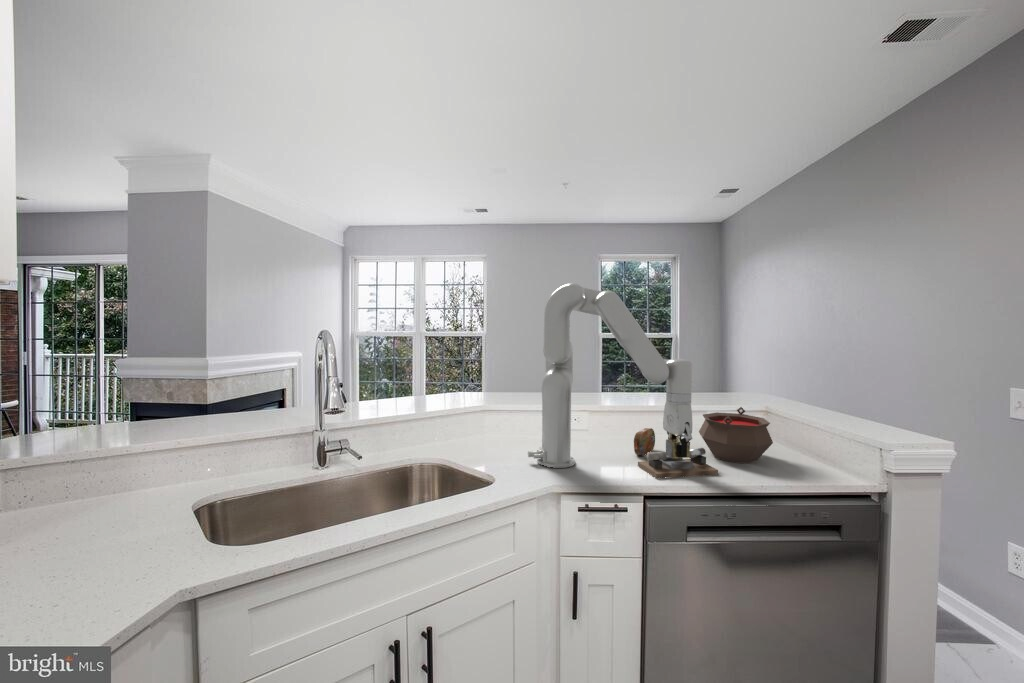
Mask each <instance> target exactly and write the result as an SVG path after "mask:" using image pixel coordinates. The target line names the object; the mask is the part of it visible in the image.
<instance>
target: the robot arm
mask: <svg viewBox="0 0 1024 683" xmlns="http://www.w3.org/2000/svg"><path fill="white" fill-rule="evenodd" d="M572 311H575V312H579V313H585V314H589V315H592V316H593V315H594V316H599V317H600V318H601V320H602V321H603V323H604V324H605V325H606V327H607V328H608V330H609V331H610V332H611V334H612V335H613V336H614V338H615V340H616V341H617V343H619V345H620V346H621V347H622V349H624V350H625V351H626V352H627V354H628V355H629V356H630V358H632V360H633V362H634V363H635V364H636V366H637V367H638V368H639V370H640V371H641V374H642V376H643V377H644V378H645V379H646V380H647V381H648V382H649V383H650V384H655V385H659V384H660V385H661V384H663V383H664V382H666V384H665V385H666V389H665V390H666V391H665V392H666V393H665V395H666V396H665V402H664V409H663V420H662V429H663V430H664V431H665V432H666V434H667V436H668V437H667V439H678V445H677V457H678V458H682V457H687V445H688V442H691V441H692V440H693V436H692V433H693V411H692V410H693V408H692V394H693V393H692V392H693V391H692V387H693V385H692V383H693V380H692V379H693V363H692V361H691V360H689V359H687V358H686V359H685V358H673V359H672V358H670V359H669V358H668V359H665V358H664V357H662V355H661V353H660V352H659V351H658V349H656V347H655V345H654V344H653V343H652V342H651V340H650V339H649V337H648V336H647V334H646V333H645V331H644V329H643V327H642V326H640V324H639V323H638V321H637V320H636V318H635V317H634V316H633V314H632V313H631V311H630V309H628V307H627V306H626V305H625V303H624V301H623V299H621V297H620V296H619V294H617V293H616V292H614V291H612V290H604V291H603V290H597V289H592V288H587V287H584V286H583V287H582V286H581V285H580V284H579V283H575V282H569V283H565V284H564V285H561V286H559V287H558V288H557V289H556V290H554V291H553V292H552V293H551V295H550V296H549V297H548V299H547V301H546V304H545V307H544V314H543V315H544V319H543V350H542V352H543V357H544V358H545V373H544V375H543V378H542V381H541V399H542V402H541V404H542V405H541V406H542V410H541V411H542V412H541V413H542V414H541V416H542V417H541V418H542V419H541V430H542V431H541V447H539V449H537V450H536V451H533V450H531V451H527V457H528V458H532V459H534V460H535V459H536V460H537V461H536V462H537V463H538V465H540V464H541V465H540V466H542V465H544V466H543V467H545V466H547V467H546V468H550V467H553V468H552V469H566V468H571V467H572V466H574V465H575V464H576V459H575V458H574V457H572V456H571V446H572V445H571V441H572V440H571V437H572V436H571V434H572V433H571V431H572V429H571V428H572V427H571V426H572V425H571V424H572V385H573V381H574V380H573V379H574V377H573V376H574V374H573V373H574V372H573V371H574V370H573V368H574V367H573V353H574V352H573V350H574V349H573V345H572V342H571V340H570V339H571V337H570V333H571V332H570V331H571V330H570V326H571V325H570V324H571V320H570V318H571V315H572V314H571V313H572ZM681 439H682V440H681Z"/></svg>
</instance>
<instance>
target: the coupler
mask: <svg viewBox="0 0 1024 683" xmlns="http://www.w3.org/2000/svg"><path fill="white" fill-rule="evenodd" d="M682 439H683V438H681V440H682ZM677 445H678V439H668V438H667V439H665V452H666V454H667V457H670V458H672V459H674V458H678V457H677ZM690 450H691V441H689V442H688V445H687V457H682V458H683V459H690V458H689V457H690Z"/></svg>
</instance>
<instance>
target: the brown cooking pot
mask: <svg viewBox="0 0 1024 683" xmlns="http://www.w3.org/2000/svg"><path fill="white" fill-rule="evenodd" d="M740 410H741V411H740ZM736 412H737V413H734V412H733V413H732V412H711V413H704V414H702V416H703V418H704V421H703V423H702V425H701V427H700V429H699V431H698V433H699V435H700V437H701V438H702V439H703V441H704V443H705V444H706V446H707V447H708V449H709V451H710V453H711V454H712V455H713V457H714V458H716V459H718V460H722V461H725V462H728V463H738V464H749V463H753V462H757V461H758V460H759V458H761V456H762V455H764V453H765V452H767V451H768V449H769V448H770V447H771V446H772V444H774V442H773V439H772V437H771V435H770V432H769V430H768V426H769V425H770V424H771V422H769V421H768V420H767V419H765V418H764V417H760V416H755V415H751V414H750V415H749V414H745V412H746V410H745V409H744V408H743V407H742V406H740V407H739V408H737V409H736Z"/></svg>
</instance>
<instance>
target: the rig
mask: <svg viewBox="0 0 1024 683" xmlns="http://www.w3.org/2000/svg"><path fill="white" fill-rule="evenodd" d="M646 459H647V460H644V461H643V460H642V461H637V467H638V466H639V467H638V468H639V469H641V470H642V471H644V472H646V473H647V474H648V473H649V475H650V476H651V475H652V477H653V476H654V477H655V478H654V477H653V478H654V479H656V478H659V479H666V478H665V477H675V478H686V477H685V476H691V477H704V476H703V475H706V476H717V475H716V474H718V475H719V469H717V468H716V467H714V466H711V465H709V464H707V463H706V464H704V465H699V464H696V463H693V462H692V461H691V458H674V459H672V458H670V457H669V456H667V454H666V451H655V452H654V451H651V452H649V453H647V455H646ZM683 476H684V477H683Z"/></svg>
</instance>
